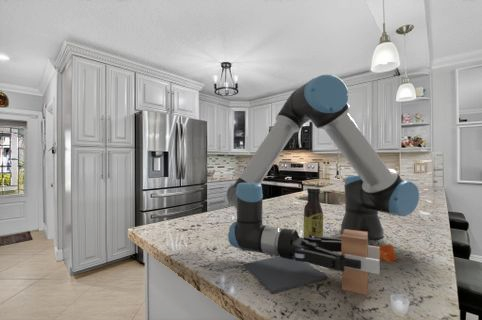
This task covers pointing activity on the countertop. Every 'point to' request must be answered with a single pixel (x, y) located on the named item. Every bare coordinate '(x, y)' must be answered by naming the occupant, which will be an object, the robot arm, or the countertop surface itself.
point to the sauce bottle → (313, 214)
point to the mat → (283, 273)
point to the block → (358, 246)
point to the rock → (387, 253)
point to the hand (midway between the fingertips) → (379, 259)
